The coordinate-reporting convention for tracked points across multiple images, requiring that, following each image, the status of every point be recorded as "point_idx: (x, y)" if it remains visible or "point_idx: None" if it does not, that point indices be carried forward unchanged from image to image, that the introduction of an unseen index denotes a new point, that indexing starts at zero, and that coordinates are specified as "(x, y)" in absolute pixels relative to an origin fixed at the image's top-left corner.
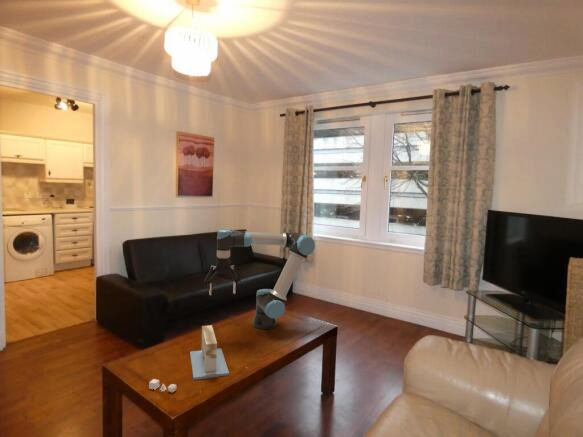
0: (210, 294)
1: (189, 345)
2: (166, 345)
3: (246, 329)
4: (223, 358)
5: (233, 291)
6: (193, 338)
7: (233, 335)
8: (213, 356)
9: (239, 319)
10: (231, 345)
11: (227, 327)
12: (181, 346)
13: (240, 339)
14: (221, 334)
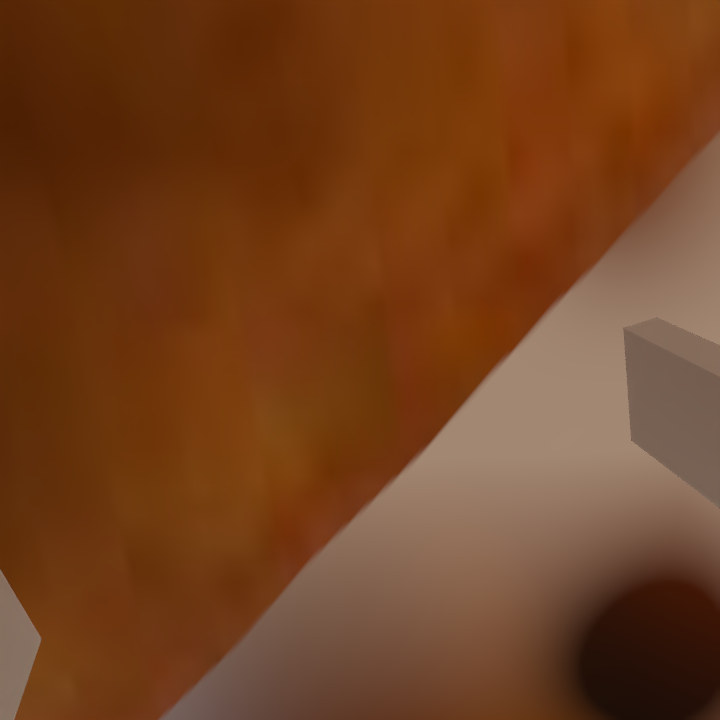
0: (654, 331)
1: (525, 102)
2: (703, 105)
3: (40, 477)
4: None
5: (5, 637)
6: (503, 252)
7: (147, 335)
8: None
9: (154, 666)
10: (123, 94)
11: (236, 498)
12: (589, 81)
13: (53, 245)
14: (268, 349)
